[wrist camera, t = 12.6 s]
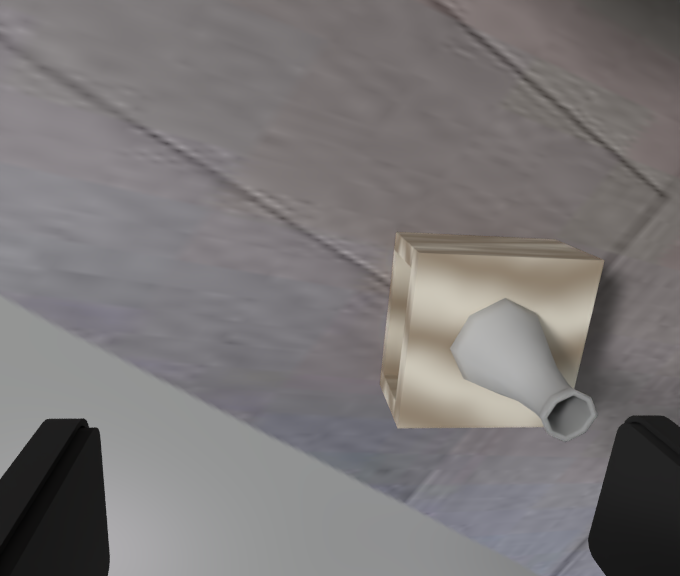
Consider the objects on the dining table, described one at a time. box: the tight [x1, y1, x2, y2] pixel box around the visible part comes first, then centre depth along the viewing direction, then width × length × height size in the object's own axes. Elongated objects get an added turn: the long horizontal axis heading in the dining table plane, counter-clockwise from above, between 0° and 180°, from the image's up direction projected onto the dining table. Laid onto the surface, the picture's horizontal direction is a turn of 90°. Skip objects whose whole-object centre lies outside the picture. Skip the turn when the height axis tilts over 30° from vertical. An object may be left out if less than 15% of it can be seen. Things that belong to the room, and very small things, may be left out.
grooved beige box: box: [380, 232, 604, 428], centre depth 42 cm, size 14×14×7 cm
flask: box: [450, 298, 598, 442], centre depth 34 cm, size 7×7×10 cm
